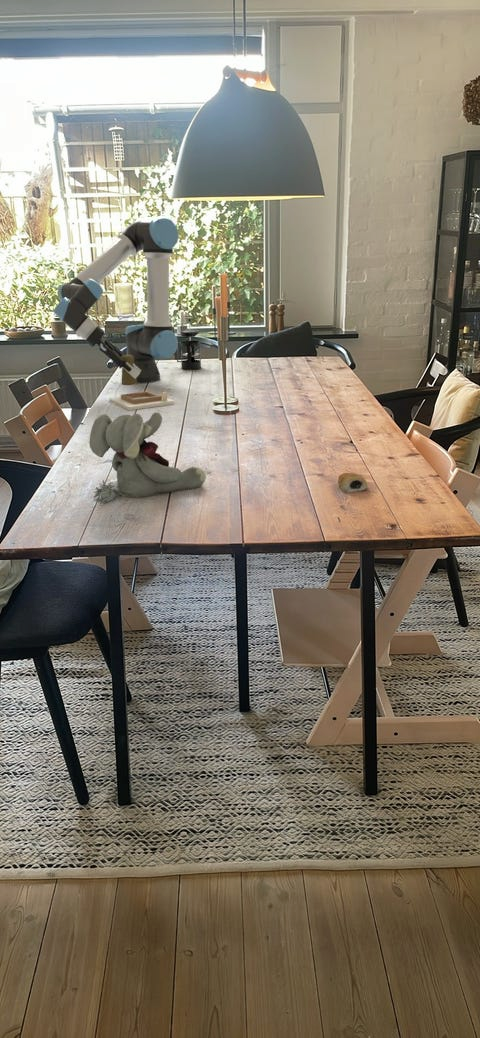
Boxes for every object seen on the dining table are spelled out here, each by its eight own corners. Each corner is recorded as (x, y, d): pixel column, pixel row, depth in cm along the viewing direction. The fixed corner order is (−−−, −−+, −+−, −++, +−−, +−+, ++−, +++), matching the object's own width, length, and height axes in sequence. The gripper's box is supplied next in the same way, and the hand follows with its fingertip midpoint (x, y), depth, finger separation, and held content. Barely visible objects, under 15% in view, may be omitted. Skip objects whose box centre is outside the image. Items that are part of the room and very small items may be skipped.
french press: (204, 366, 358) (202, 315, 349) (201, 370, 349) (199, 318, 341) (179, 366, 359) (177, 316, 351) (175, 370, 350) (173, 318, 342)
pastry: (332, 482, 193) (332, 467, 192) (358, 480, 194) (358, 466, 193) (343, 493, 185) (343, 478, 183) (370, 492, 186) (370, 477, 184)
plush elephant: (154, 469, 206) (149, 392, 199) (209, 486, 191) (207, 404, 184) (68, 493, 188) (60, 409, 181) (122, 514, 174) (115, 424, 166)
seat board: (153, 395, 296) (152, 385, 295) (174, 404, 282) (173, 392, 280) (109, 401, 288) (108, 390, 286) (129, 410, 273) (128, 398, 272)
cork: (138, 382, 299) (136, 353, 295) (135, 385, 293) (132, 356, 289) (123, 382, 299) (121, 353, 295) (119, 385, 294) (117, 356, 290)
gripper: (88, 336, 298) (134, 377, 304) (80, 343, 281) (129, 386, 288) (100, 322, 296) (146, 363, 303) (93, 328, 279) (142, 372, 286)
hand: (138, 374), depth 295 cm, fingers closed on cork, 5 cm apart
